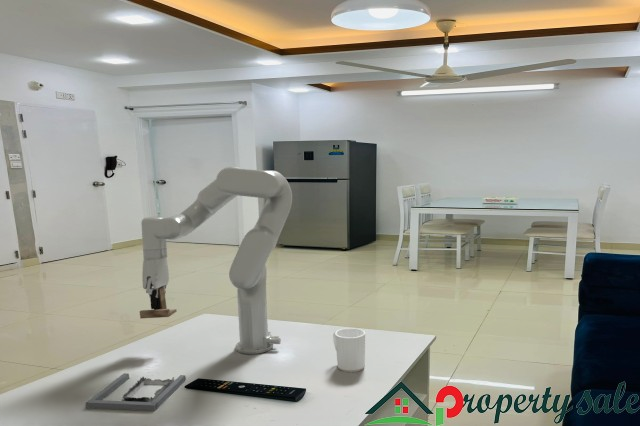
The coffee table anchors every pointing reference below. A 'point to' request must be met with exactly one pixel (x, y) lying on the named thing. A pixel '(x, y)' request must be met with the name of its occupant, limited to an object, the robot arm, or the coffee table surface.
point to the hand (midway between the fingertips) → (158, 306)
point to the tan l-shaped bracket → (158, 312)
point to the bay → (131, 405)
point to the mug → (350, 349)
